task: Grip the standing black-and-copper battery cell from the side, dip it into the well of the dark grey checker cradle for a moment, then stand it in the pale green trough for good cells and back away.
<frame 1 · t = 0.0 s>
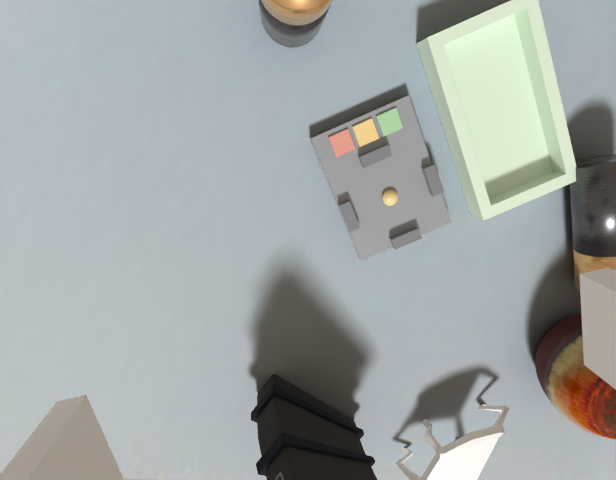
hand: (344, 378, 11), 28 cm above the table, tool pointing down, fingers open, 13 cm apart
trough: (492, 113, 37), on the table
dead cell: (584, 220, 41), on the table
vase: (570, 348, 45), on the table
white legged piece: (449, 425, 46), on the table
magazine: (315, 411, 44), on the table
cell: (291, 13, 34), on the table
cradle: (381, 180, 38), on the table
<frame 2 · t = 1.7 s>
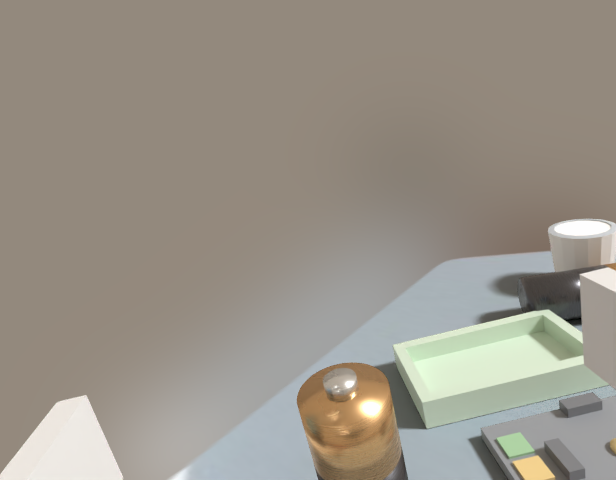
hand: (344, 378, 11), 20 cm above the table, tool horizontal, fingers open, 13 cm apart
trough: (494, 374, 39), on the table
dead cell: (588, 313, 44), on the table
white cup: (584, 283, 50), on the table
cradle: (601, 466, 28), on the table
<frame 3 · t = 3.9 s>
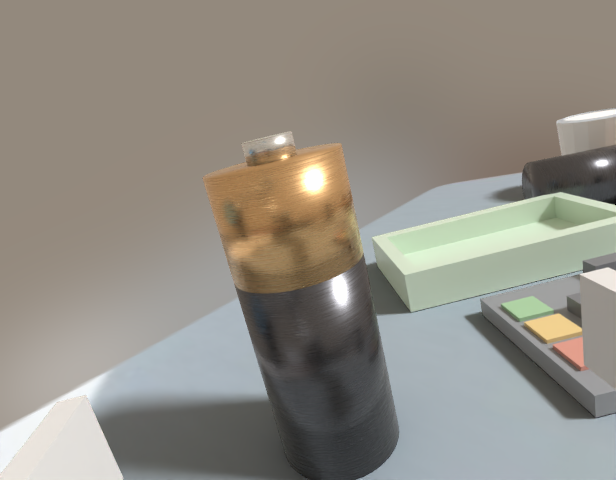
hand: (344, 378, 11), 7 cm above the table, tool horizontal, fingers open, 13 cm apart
trough: (496, 260, 31), on the table
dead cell: (607, 203, 37), on the table
white cup: (598, 185, 43), on the table
cell: (340, 433, 18), on the table
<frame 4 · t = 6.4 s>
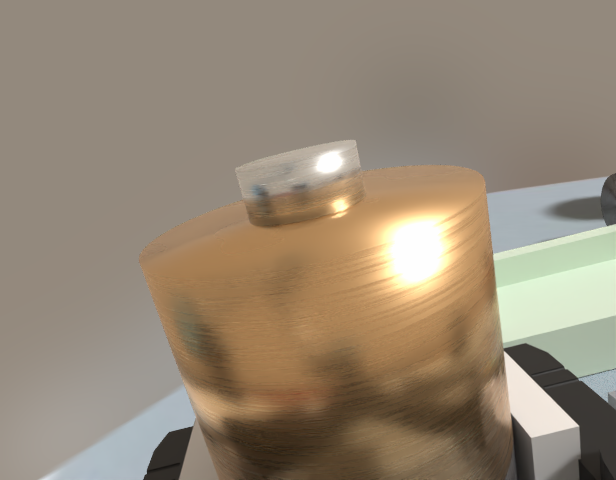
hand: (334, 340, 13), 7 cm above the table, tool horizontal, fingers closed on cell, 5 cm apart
trough: (592, 311, 23), on the table
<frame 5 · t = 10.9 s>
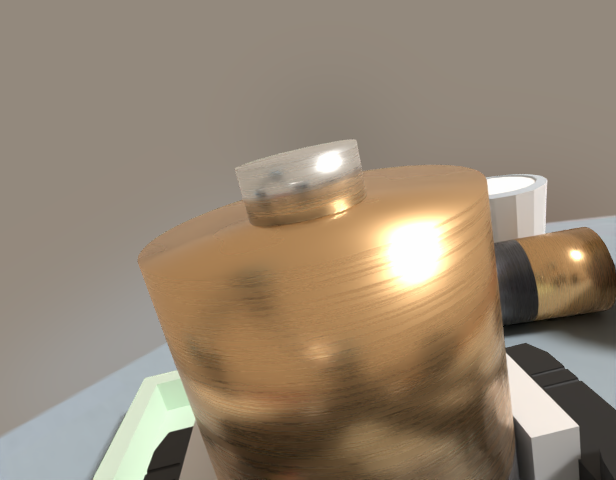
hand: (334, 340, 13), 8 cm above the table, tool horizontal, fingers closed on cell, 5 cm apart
trough: (291, 436, 21), on the table
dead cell: (491, 320, 27), on the table
white cup: (502, 274, 33), on the table
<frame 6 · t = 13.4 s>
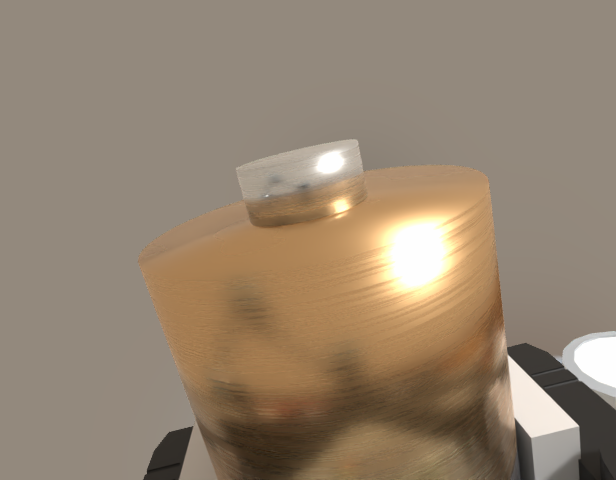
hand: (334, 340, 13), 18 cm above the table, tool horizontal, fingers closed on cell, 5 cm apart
when the fingers open (9 cm above the table, at t = 15.5 s): cell drops 1 cm, resting on trough.
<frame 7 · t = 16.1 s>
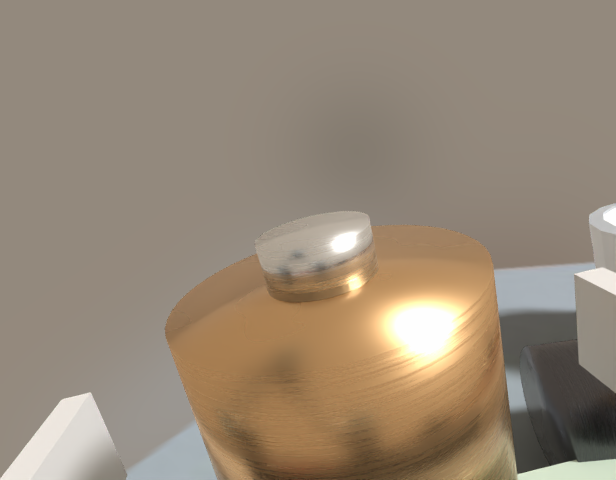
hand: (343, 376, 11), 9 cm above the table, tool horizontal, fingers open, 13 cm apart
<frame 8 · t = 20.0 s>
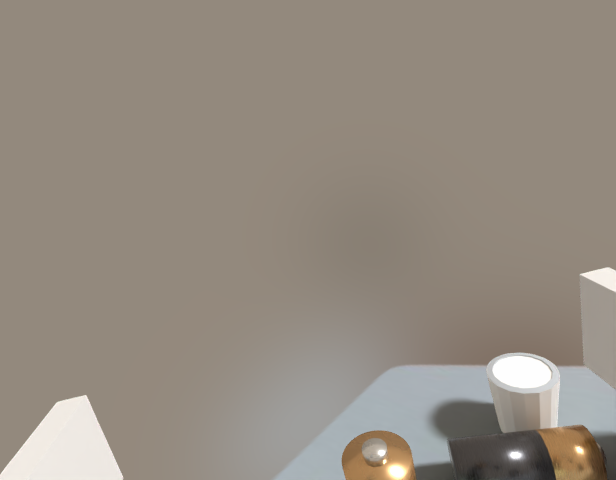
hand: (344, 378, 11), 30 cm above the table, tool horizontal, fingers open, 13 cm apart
white cup: (527, 426, 45), on the table
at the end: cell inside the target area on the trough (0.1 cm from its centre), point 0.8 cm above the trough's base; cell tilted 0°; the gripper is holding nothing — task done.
